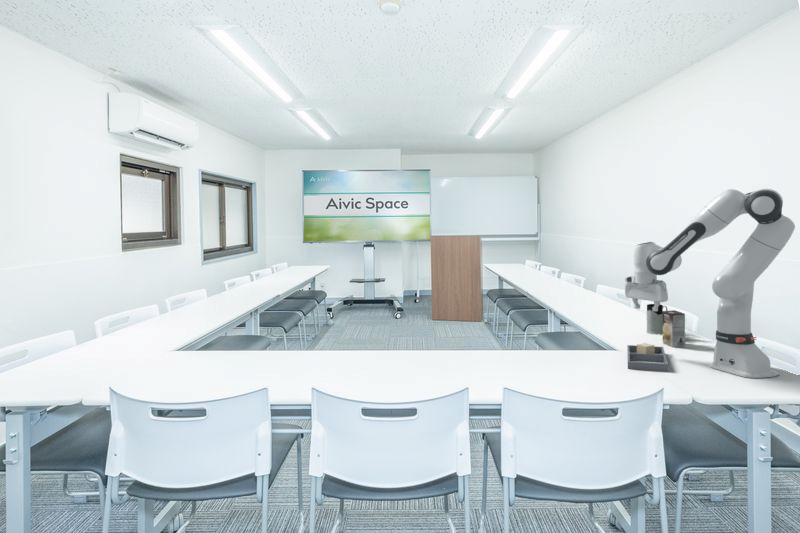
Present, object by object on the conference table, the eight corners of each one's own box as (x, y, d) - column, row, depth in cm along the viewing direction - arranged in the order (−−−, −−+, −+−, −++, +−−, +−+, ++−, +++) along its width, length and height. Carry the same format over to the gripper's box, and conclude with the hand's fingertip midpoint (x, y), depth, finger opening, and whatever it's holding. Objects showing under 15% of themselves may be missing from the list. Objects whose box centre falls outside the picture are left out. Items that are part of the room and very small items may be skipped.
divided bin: (668, 371, 187) (668, 364, 187) (627, 368, 193) (627, 361, 193) (663, 353, 212) (663, 346, 212) (627, 351, 219) (627, 345, 219)
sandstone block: (654, 356, 208) (654, 345, 207) (646, 357, 206) (645, 346, 206) (645, 353, 212) (645, 343, 212) (636, 355, 211) (636, 344, 210)
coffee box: (661, 342, 230) (661, 310, 229) (675, 342, 230) (674, 310, 229) (672, 347, 221) (671, 314, 220) (686, 346, 221) (685, 313, 220)
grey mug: (642, 332, 254) (641, 305, 253) (659, 328, 260) (659, 302, 259) (657, 335, 246) (656, 307, 245) (674, 331, 252) (674, 303, 251)
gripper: (671, 279, 198) (672, 312, 199) (632, 276, 217) (633, 306, 218) (660, 281, 196) (660, 313, 197) (622, 277, 215) (622, 307, 216)
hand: (646, 309), depth 208 cm, fingers open, 8 cm apart
